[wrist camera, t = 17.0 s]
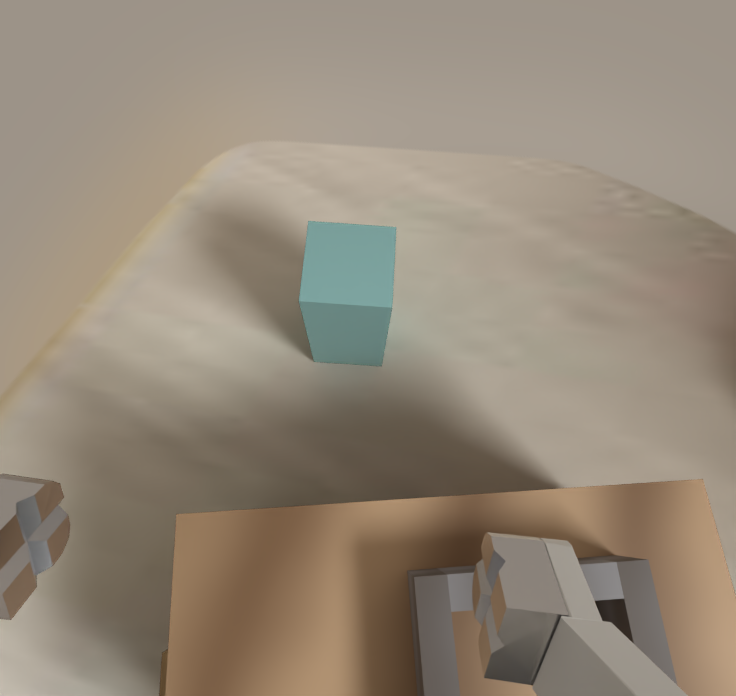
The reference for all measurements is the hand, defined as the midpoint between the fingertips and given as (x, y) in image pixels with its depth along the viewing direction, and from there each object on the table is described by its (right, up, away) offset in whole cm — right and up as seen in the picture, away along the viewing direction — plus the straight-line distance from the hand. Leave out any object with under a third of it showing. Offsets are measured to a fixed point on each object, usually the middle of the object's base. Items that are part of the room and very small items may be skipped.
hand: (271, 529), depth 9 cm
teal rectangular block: (+1, +4, +20) cm, 21 cm away
